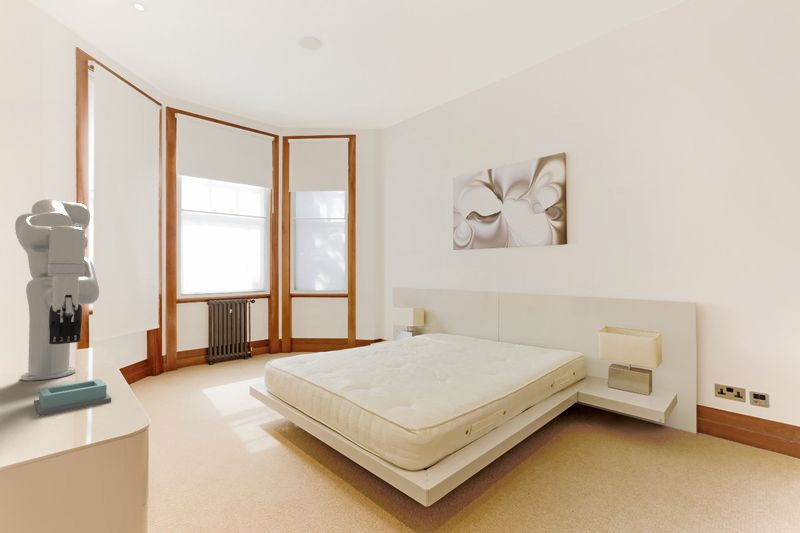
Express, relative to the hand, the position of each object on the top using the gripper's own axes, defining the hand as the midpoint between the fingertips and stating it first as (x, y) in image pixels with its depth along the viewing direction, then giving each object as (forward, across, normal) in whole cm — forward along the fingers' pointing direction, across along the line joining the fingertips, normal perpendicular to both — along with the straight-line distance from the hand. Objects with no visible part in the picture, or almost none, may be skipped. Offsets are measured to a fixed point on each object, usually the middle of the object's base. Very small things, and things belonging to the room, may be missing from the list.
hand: (64, 335), depth 102 cm
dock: (+15, +17, 0) cm, 22 cm away
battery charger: (+2, 0, 0) cm, 3 cm away
